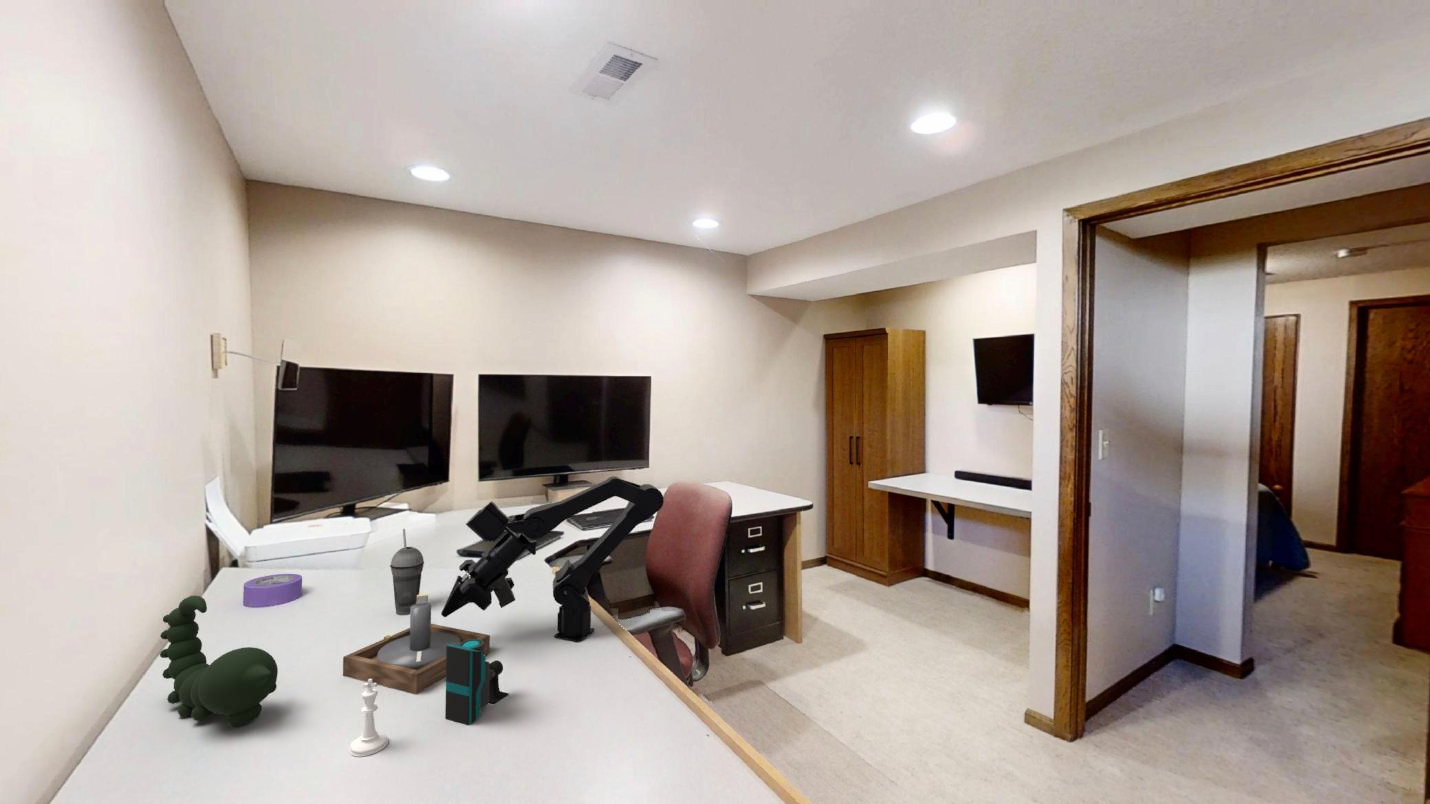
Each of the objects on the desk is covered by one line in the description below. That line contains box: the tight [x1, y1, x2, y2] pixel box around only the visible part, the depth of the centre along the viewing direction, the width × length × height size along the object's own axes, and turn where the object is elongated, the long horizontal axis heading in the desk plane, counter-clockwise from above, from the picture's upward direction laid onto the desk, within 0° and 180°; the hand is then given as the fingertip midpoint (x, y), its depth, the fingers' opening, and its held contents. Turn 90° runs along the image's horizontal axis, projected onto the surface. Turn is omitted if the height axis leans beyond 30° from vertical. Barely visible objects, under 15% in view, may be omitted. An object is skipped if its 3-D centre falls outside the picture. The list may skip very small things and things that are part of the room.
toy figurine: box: [159, 595, 279, 728], centre depth 92 cm, size 10×19×26 cm
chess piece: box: [348, 679, 389, 758], centre depth 84 cm, size 5×5×10 cm
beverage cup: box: [389, 528, 425, 616], centre depth 137 cm, size 7×7×20 cm
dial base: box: [342, 623, 491, 695], centre depth 111 cm, size 18×18×4 cm
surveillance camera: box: [444, 639, 509, 726], centre depth 96 cm, size 6×12×10 cm
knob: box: [377, 593, 460, 670], centre depth 111 cm, size 14×14×10 cm
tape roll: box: [242, 573, 303, 609], centre depth 144 cm, size 12×12×5 cm
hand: (442, 615), depth 116 cm, fingers closed
